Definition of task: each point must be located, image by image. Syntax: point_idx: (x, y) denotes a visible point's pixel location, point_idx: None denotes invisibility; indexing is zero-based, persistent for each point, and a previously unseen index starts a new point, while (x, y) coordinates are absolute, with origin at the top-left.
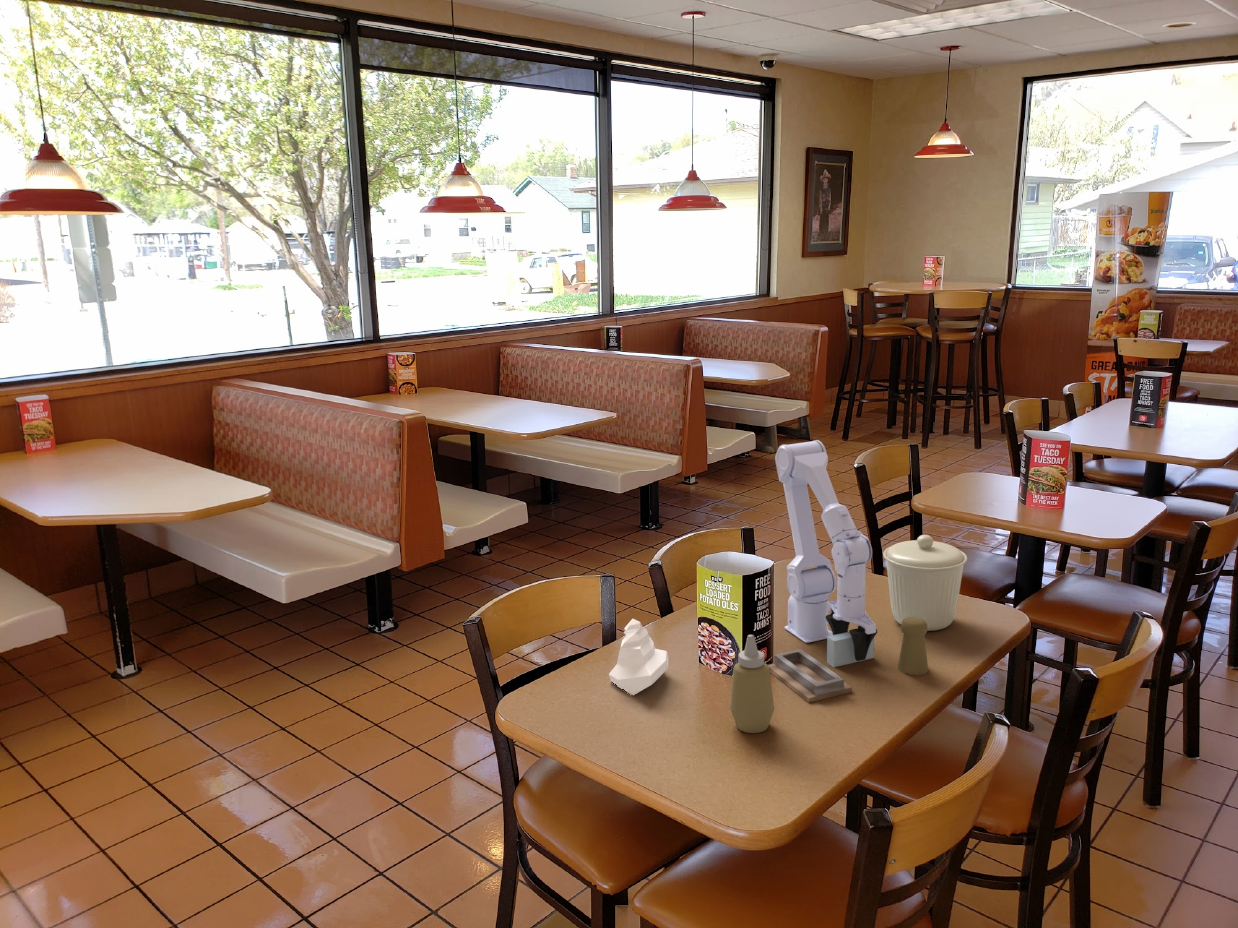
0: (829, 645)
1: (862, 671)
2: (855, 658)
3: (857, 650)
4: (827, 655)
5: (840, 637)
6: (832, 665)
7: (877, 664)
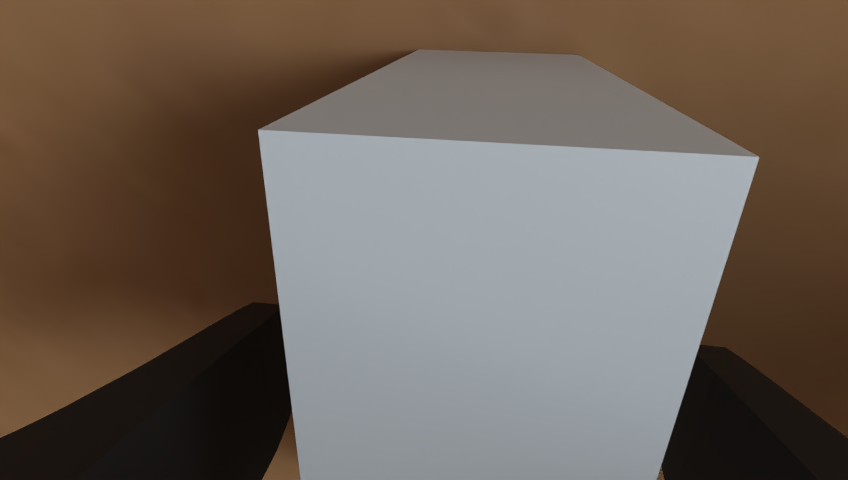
0: (547, 95)
1: (209, 253)
2: (269, 309)
3: (111, 387)
4: (585, 63)
5: (422, 449)
6: (450, 51)
7: (291, 429)
